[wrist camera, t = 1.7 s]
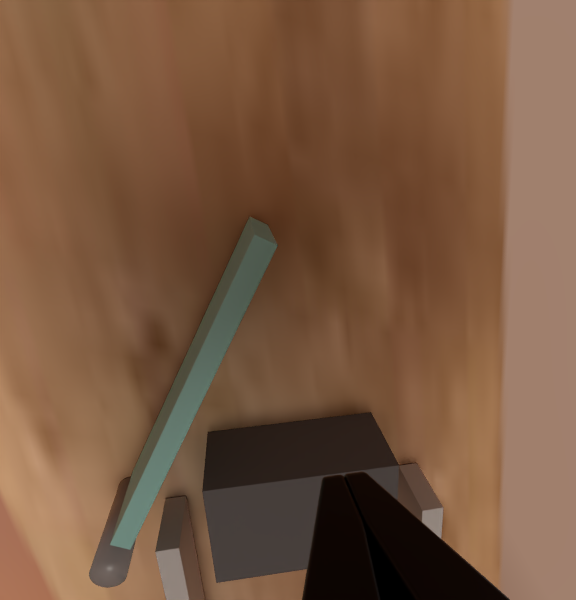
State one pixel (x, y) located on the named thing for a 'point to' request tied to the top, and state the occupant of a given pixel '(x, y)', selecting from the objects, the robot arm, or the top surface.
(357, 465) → the block
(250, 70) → the top surface
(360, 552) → the robot arm
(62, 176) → the top surface
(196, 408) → the bar
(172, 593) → the frame
